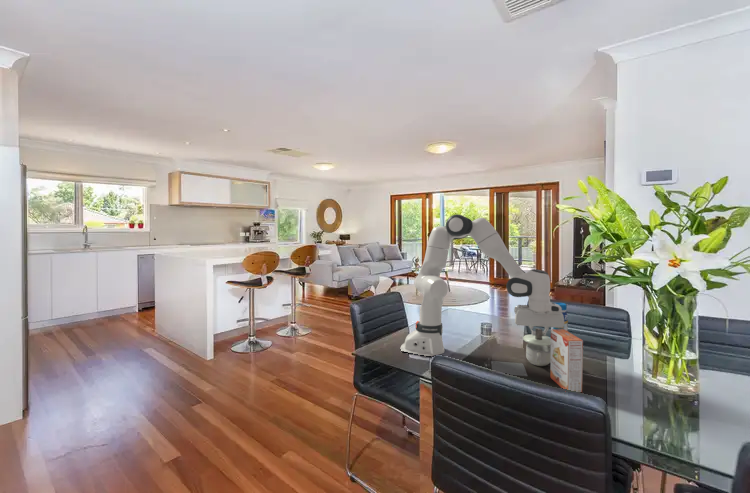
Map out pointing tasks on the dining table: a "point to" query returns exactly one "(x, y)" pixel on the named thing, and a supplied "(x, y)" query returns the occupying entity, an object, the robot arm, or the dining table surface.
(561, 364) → the cracker box
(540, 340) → the lid
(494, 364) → the mat
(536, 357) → the teacup
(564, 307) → the beverage bottle
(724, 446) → the dining table surface
